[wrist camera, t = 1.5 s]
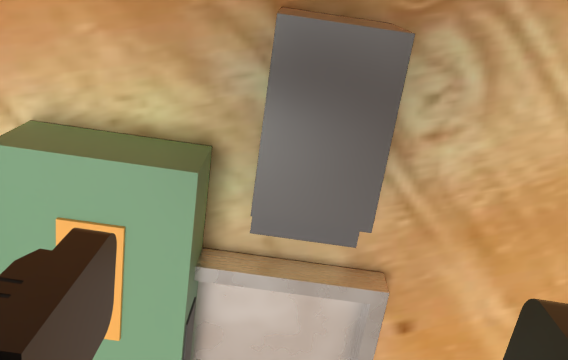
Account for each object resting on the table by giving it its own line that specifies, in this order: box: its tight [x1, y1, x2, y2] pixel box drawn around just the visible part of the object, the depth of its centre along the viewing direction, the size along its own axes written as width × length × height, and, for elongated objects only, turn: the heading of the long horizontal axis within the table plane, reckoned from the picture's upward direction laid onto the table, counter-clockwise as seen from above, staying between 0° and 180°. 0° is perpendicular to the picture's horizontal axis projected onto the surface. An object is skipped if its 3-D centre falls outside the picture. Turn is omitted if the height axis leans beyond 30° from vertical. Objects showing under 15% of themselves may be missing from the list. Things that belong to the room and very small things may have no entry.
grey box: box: [250, 7, 415, 248], centre depth 23 cm, size 10×5×6 cm, turn 172°
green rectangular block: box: [0, 120, 212, 360], centre depth 28 cm, size 20×9×4 cm, turn 172°
